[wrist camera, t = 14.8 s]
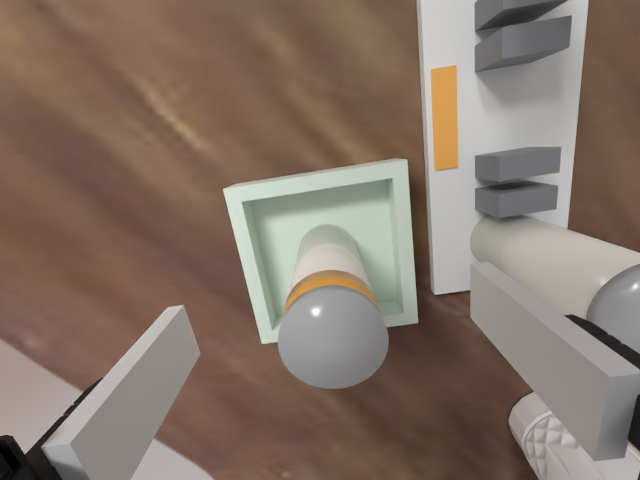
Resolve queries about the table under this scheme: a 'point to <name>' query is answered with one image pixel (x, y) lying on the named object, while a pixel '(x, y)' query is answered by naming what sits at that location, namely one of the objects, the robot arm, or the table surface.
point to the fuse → (566, 271)
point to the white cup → (562, 447)
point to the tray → (317, 209)
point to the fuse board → (496, 118)
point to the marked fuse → (331, 314)
